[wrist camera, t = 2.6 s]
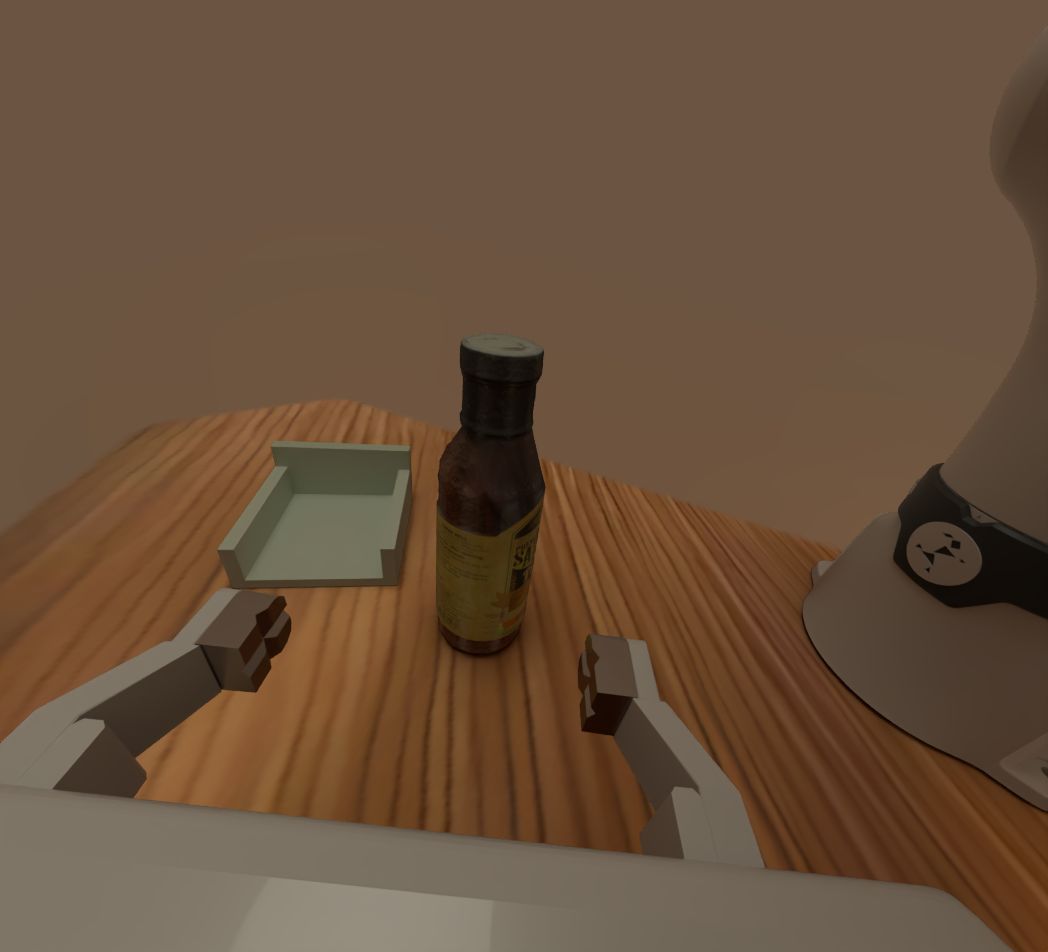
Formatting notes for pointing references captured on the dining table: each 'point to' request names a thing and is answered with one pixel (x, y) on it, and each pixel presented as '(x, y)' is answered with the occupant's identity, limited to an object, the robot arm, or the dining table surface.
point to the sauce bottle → (489, 496)
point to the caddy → (324, 518)
